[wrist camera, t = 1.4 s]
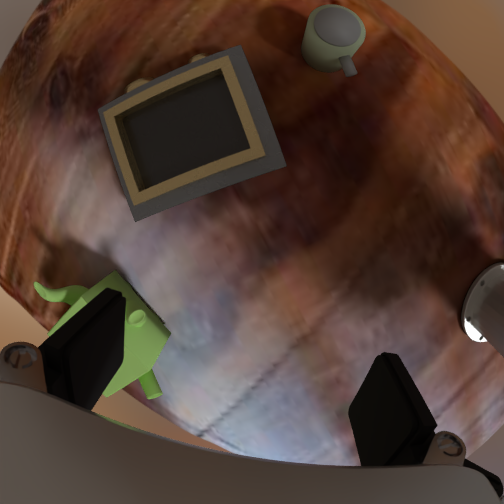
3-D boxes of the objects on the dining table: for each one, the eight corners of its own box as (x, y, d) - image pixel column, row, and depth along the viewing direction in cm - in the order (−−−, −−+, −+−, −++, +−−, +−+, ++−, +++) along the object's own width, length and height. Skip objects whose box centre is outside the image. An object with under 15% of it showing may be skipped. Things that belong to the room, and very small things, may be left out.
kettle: (77, 256, 37) (25, 285, 26) (173, 266, 37) (138, 306, 26) (91, 349, 41) (54, 392, 30) (177, 367, 41) (153, 421, 30)
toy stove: (241, 52, 29) (234, 27, 22) (284, 166, 33) (288, 166, 26) (115, 106, 31) (85, 97, 25) (152, 214, 35) (126, 225, 28)
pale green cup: (337, 27, 28) (352, -1, 20) (362, 82, 29) (383, 63, 22) (293, 36, 28) (298, 8, 21) (317, 92, 30) (329, 74, 23)
